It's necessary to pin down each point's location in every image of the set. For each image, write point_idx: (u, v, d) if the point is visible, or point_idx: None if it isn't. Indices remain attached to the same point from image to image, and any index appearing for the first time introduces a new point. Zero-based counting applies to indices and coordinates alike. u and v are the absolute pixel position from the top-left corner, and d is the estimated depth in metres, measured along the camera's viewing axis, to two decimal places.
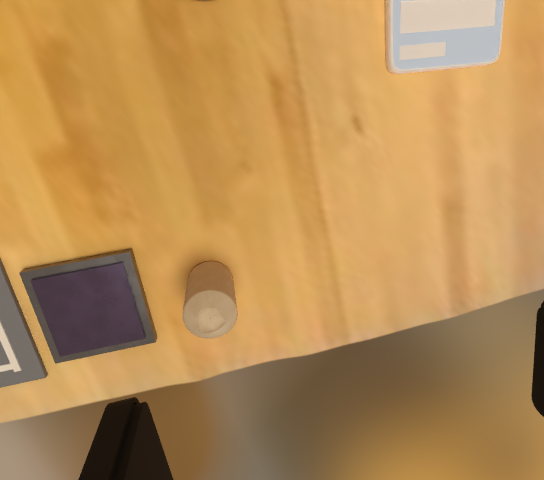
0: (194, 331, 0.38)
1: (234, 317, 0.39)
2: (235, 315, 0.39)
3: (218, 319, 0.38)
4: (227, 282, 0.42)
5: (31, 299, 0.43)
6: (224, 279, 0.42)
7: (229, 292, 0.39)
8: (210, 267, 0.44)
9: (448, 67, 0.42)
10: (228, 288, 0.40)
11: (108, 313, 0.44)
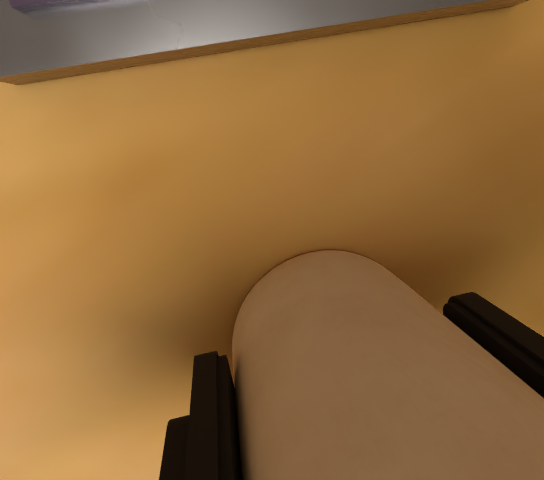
0: None
1: None
2: None
3: None
4: None
5: None
6: None
7: None
8: None
9: None
10: None
11: None
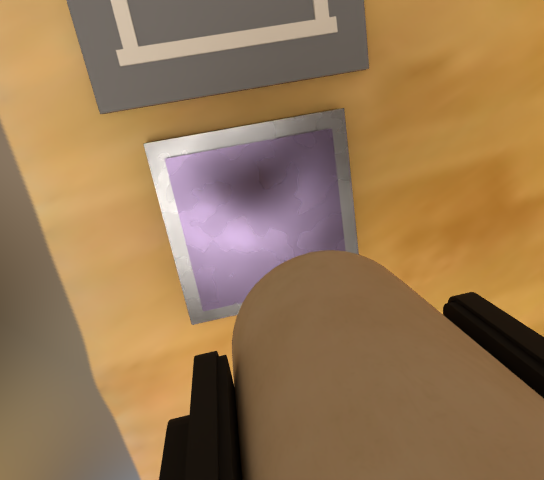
0: None
1: None
2: None
3: None
4: None
5: (290, 120, 0.23)
6: None
7: None
8: None
9: None
10: None
11: (257, 253, 0.24)
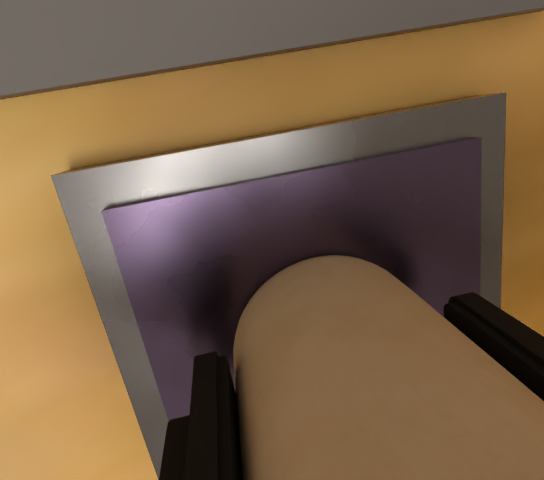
0: None
1: None
2: None
3: None
4: None
5: (388, 120, 0.10)
6: None
7: None
8: None
9: None
10: None
11: None
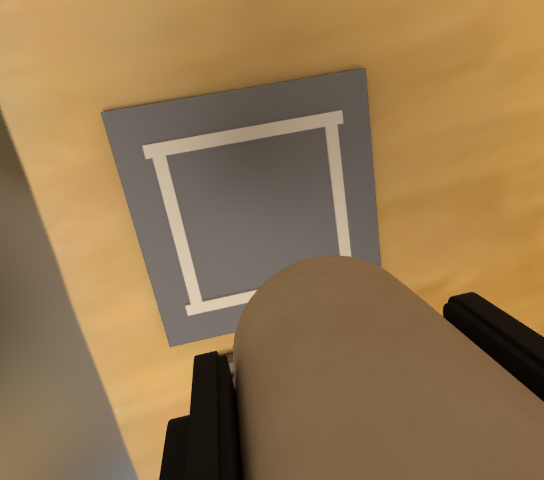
0: None
1: None
2: None
3: None
4: None
5: None
6: None
7: None
8: None
9: None
10: None
11: None
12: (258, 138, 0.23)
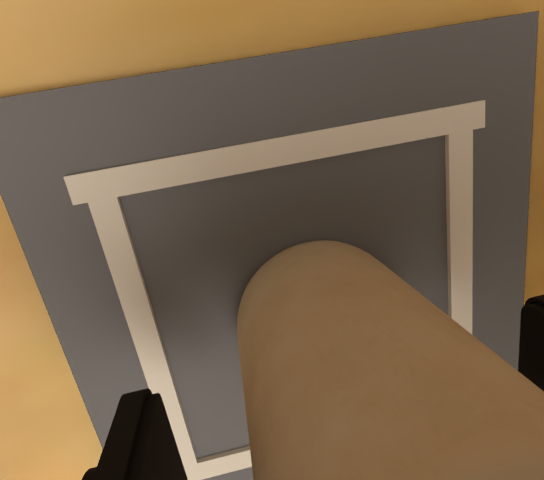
0: None
1: None
2: None
3: None
4: None
5: None
6: None
7: None
8: None
9: None
10: None
11: None
12: (312, 159, 0.11)
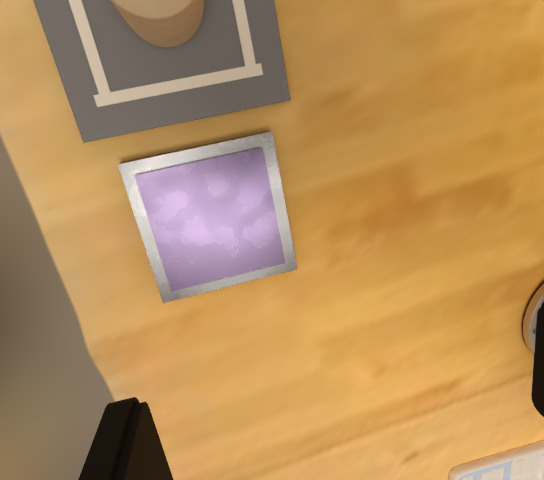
0: None
1: (146, 9, 0.19)
2: (150, 13, 0.19)
3: None
4: (193, 18, 0.23)
5: (230, 142, 0.29)
6: (196, 14, 0.23)
7: (190, 10, 0.20)
8: None
9: None
10: (191, 12, 0.21)
11: (211, 245, 0.31)
12: None
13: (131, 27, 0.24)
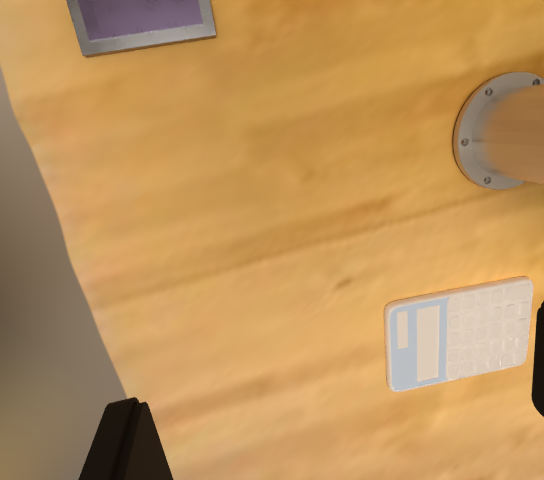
0: None
1: None
2: None
3: None
4: None
5: None
6: None
7: None
8: None
9: (389, 354, 0.48)
10: None
11: None
12: None
13: None
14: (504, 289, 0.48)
